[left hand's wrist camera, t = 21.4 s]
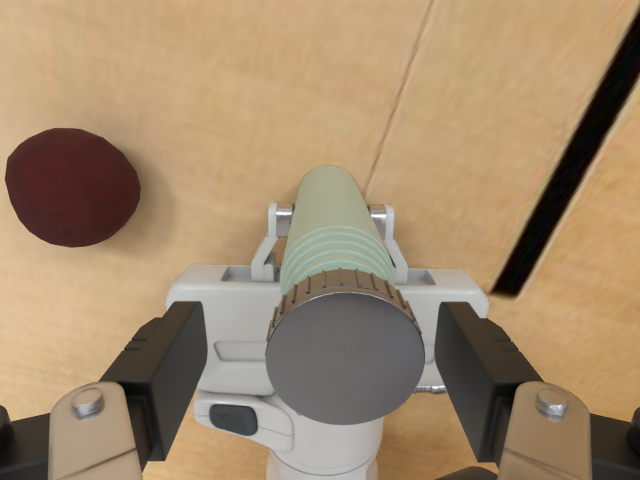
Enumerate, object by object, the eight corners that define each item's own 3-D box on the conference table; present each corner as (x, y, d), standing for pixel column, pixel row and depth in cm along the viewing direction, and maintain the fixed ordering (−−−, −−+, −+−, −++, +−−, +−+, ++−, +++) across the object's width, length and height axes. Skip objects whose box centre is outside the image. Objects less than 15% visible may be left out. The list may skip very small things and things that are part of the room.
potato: (79, 235, 31) (13, 272, 24) (35, 135, 28) (-52, 146, 21) (168, 216, 30) (126, 249, 24) (132, 113, 28) (73, 118, 21)
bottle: (318, 152, 29) (319, 248, 10) (370, 186, 30) (457, 329, 11) (286, 204, 30) (235, 371, 12) (337, 235, 31) (364, 436, 12)
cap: (327, 413, 13) (328, 450, 12) (239, 320, 12) (228, 350, 11) (442, 344, 12) (457, 376, 11) (359, 237, 11) (366, 256, 10)
